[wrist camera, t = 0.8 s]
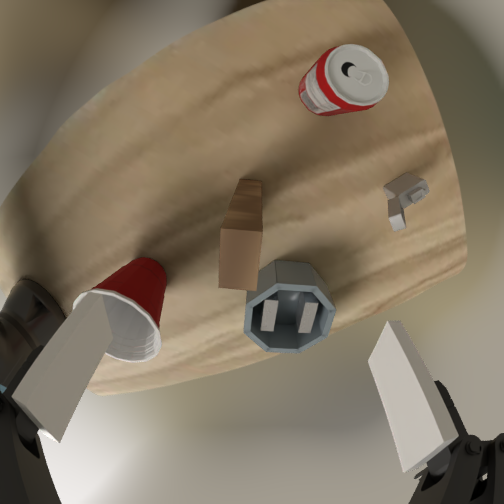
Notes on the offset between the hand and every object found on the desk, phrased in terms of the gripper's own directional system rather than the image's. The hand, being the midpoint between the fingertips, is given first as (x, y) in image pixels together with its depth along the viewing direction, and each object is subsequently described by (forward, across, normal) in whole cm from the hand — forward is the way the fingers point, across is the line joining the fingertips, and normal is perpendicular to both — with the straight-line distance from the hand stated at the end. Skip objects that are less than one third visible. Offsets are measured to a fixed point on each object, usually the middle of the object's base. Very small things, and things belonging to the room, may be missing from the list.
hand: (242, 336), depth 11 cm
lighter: (+22, +16, +4) cm, 28 cm away
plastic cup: (+22, -13, -11) cm, 28 cm away
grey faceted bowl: (+22, +6, -12) cm, 26 cm away
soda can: (+22, +6, +14) cm, 27 cm away
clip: (+22, +6, -12) cm, 26 cm away
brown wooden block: (+22, 0, +1) cm, 22 cm away
